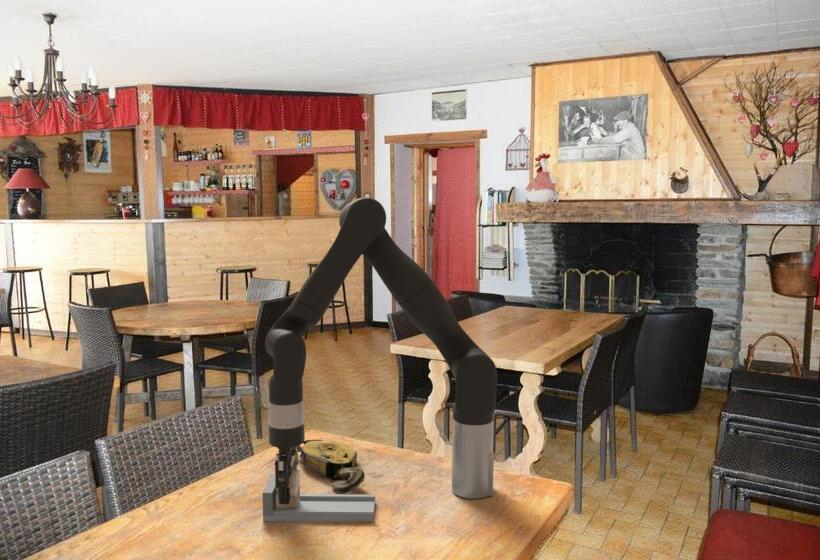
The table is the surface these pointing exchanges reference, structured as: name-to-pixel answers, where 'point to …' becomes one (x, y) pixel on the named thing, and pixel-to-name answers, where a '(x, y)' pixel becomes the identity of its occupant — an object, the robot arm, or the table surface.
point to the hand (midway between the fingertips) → (287, 495)
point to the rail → (319, 507)
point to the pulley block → (333, 462)
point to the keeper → (291, 492)
